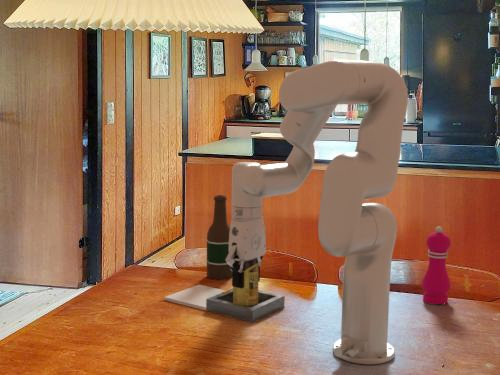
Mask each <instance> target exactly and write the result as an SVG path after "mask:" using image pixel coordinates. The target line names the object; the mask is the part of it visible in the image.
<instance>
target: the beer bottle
mask: <svg viewBox="0 0 500 375" xmlns="http://www.w3.org/2000/svg"><path fill="white" fill-rule="evenodd" d="M213 201H214V205H213V206H214V207H213V209H214V210H213V219H212V223H211V225H210V226H209V228H208V229H207V234H206V275H207V277H208V278H209V279H210V280H215V279H216V280H217V281H222V280H221V279H225V280H229V279H230V278H231V279H232V271H231V268H230V267H229V265H228V263H227V262H226V257H227V256H228V254H229V233H230V225H229V224H228V218H227V203H226V202H227V196H226V195H221V194H220V195H219V194H218V195H214V197H213ZM216 280H215V281H216Z"/></svg>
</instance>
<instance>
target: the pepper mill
mask: <svg viewBox="0 0 500 375" xmlns="http://www.w3.org/2000/svg"><path fill="white" fill-rule="evenodd" d="M425 243H426V246H427V248H428V250H427V252H428V253H427V256H428V258H429V259H428V260H429V261H428V266H427V269H426V271H425V273H424V275H423V278H422V280H421V287H422V290H423V291H424V292H423V293H422V294H423V295H422V301H423V302H424V303H426V304H428V303H430V304H429V305H433V304H444V303H446V304H448V303H449V295H447V294H448V292H449V291H450V290H451V281H450V280H451V279H450V277H449V274H448V271H447V268H446V259H447V258H448V254H449V251H448V250H449V249H450V247H451V238H450V237H449V235H448V234H446V233H444V232H443V227H442V226H440V225H439V226H436V227H435V231H434V232H431V233H430V234H429V235H428V236H427V238H426V242H425ZM444 305H445V304H444Z"/></svg>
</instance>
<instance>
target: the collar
mask: <svg viewBox="0 0 500 375" xmlns="http://www.w3.org/2000/svg"><path fill="white" fill-rule="evenodd" d="M285 298H286V297H285V295H284V294H279V293H274V292H269V291H265V290H260V289H258V304H257V305H255V306H253V307H247V306H243V305H239V304H235V303H234V302H233V288H230V289H227V290H225V291H224V292H222V293H220V294H218V295H215V296H213V297H210V298H208V299H206V310H205V311H206V312H210V313H214V314H218V315H222V316H225V317H230V318H232V319H233V318H234V319H236V320H241V321H245V322H249V323H254V322H257V321H259V320H261V319H264V318H265V317H267V316H270V315H272V314H274V313H275V312H278V311H280V310H281V309H284V308H285V302H286V301H285V300H286V299H285Z"/></svg>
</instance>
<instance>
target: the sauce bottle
mask: <svg viewBox="0 0 500 375" xmlns="http://www.w3.org/2000/svg"><path fill="white" fill-rule="evenodd" d="M237 258H238V259H239V256H237ZM239 263H240V262H239V261H237V264H238V266H239ZM258 270H259V262H258V259H257V258H255V259H252V260H250V261H246V262H244V266H243V270H242V272H244V287H243V288H238V287H234V286H232V289H233V303H235V304H239V305H243V306H247V307H253V306H255V305H258V304H259V303H258V290H259V282H258Z"/></svg>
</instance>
